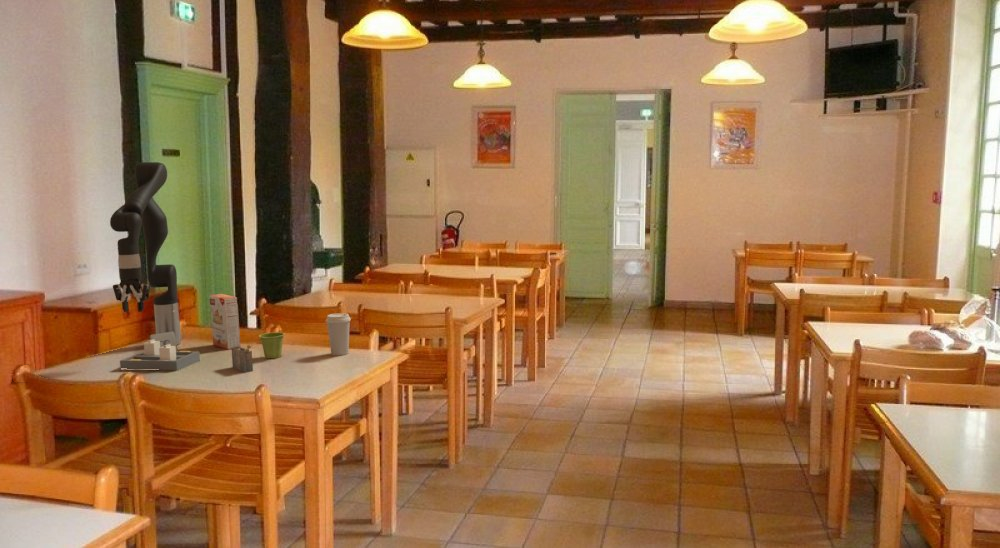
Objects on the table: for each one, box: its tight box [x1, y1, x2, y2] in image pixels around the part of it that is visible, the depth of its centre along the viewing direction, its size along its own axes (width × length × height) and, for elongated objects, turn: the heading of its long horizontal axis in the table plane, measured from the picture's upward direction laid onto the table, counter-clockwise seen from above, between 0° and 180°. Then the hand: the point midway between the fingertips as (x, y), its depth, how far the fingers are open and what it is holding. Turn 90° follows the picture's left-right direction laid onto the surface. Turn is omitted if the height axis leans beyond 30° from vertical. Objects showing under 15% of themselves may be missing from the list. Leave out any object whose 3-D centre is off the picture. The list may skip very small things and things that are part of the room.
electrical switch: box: [149, 332, 179, 351], centre depth 320 cm, size 9×5×9 cm, turn 134°
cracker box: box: [209, 293, 242, 351], centre depth 333 cm, size 14×6×21 cm, turn 42°
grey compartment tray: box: [119, 350, 201, 371], centre depth 304 cm, size 16×22×4 cm
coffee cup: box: [325, 312, 352, 357], centre depth 315 cm, size 10×10×15 cm
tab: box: [159, 344, 177, 360], centre depth 298 cm, size 4×4×7 cm
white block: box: [143, 339, 160, 355], centre depth 308 cm, size 4×4×7 cm
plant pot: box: [258, 331, 285, 360], centre depth 312 cm, size 9×9×9 cm
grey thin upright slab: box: [230, 344, 254, 373], centre depth 294 cm, size 11×3×10 cm, turn 41°
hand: (133, 311), depth 307 cm, fingers open, 5 cm apart
